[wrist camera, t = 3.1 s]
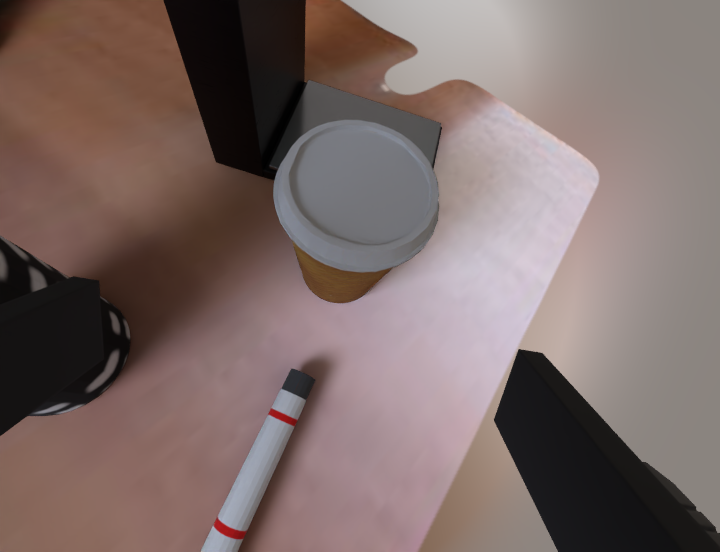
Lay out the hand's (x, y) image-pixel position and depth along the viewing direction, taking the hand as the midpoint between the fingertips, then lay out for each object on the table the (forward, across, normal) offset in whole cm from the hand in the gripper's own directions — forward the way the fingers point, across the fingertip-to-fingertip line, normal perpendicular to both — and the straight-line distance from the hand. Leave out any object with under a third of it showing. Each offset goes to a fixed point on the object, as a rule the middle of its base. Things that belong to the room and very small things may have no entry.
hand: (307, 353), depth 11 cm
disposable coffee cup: (+19, 0, -3) cm, 19 cm away
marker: (+8, -3, -15) cm, 17 cm away
